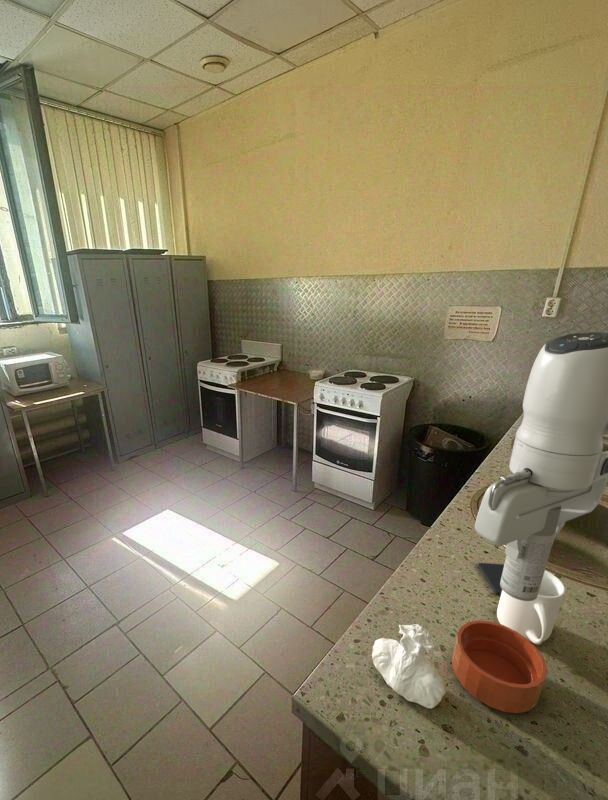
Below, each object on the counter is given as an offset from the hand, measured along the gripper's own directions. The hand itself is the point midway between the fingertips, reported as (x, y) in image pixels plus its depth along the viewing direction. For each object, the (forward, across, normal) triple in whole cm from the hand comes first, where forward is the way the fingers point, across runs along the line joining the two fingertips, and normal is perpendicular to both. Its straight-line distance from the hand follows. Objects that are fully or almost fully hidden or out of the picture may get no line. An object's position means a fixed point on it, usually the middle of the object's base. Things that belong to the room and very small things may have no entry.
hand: (528, 550), depth 56 cm
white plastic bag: (+25, -14, +5) cm, 29 cm away
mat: (+26, +23, +14) cm, 37 cm away
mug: (+26, +13, +4) cm, 29 cm away
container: (+7, 0, 0) cm, 7 cm away
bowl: (+25, 0, 0) cm, 25 cm away
